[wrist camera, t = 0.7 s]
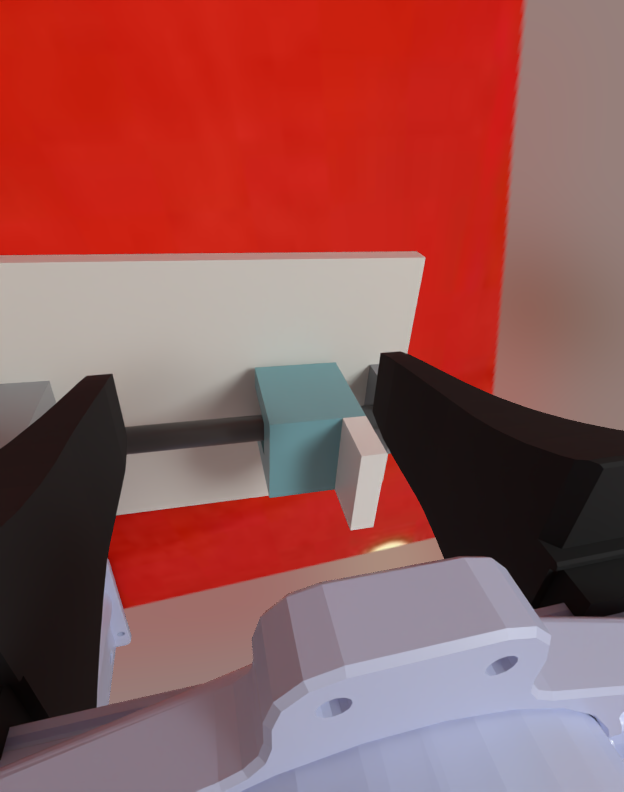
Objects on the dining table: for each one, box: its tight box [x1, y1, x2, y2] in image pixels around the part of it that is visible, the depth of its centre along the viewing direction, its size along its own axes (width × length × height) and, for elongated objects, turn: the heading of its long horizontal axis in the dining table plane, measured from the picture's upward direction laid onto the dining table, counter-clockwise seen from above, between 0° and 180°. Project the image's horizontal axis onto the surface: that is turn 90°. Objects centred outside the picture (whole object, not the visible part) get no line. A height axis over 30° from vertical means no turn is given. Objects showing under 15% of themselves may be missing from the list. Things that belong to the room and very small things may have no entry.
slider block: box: [255, 362, 387, 530], centre depth 20 cm, size 4×4×7 cm
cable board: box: [0, 251, 426, 515], centre depth 21 cm, size 14×20×6 cm
